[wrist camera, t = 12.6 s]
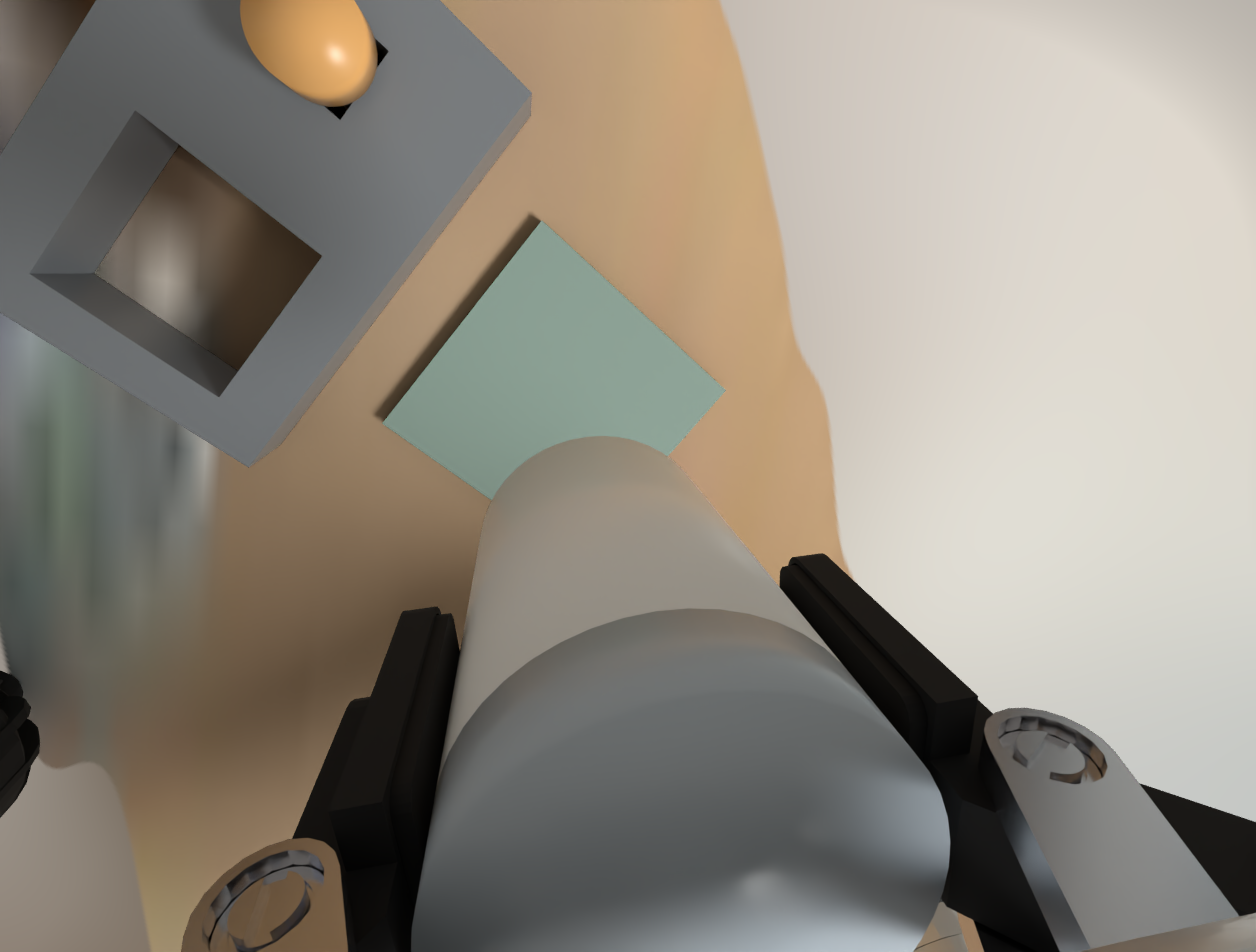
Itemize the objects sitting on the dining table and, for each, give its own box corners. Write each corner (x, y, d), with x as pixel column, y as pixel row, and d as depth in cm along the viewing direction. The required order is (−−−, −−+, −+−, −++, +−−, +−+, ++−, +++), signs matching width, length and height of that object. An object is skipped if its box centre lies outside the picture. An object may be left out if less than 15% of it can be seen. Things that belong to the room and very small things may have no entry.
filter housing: (530, 115, 26) (531, 92, 23) (280, 445, 29) (248, 467, 25) (271, -141, 22) (227, -213, 19) (8, 269, 25) (-71, 268, 21)
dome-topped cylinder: (706, 423, 14) (980, 645, 6) (712, 630, 16) (924, 1032, 7) (462, 449, 13) (352, 751, 5) (497, 662, 15) (461, 1150, 7)
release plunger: (415, 76, 24) (386, 24, 19) (363, 148, 25) (321, 116, 20) (335, 1, 23) (282, -75, 18) (282, 79, 24) (216, 26, 19)
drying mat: (722, 388, 31) (725, 390, 31) (575, 555, 33) (576, 559, 32) (541, 221, 27) (541, 220, 27) (384, 420, 29) (382, 423, 28)
